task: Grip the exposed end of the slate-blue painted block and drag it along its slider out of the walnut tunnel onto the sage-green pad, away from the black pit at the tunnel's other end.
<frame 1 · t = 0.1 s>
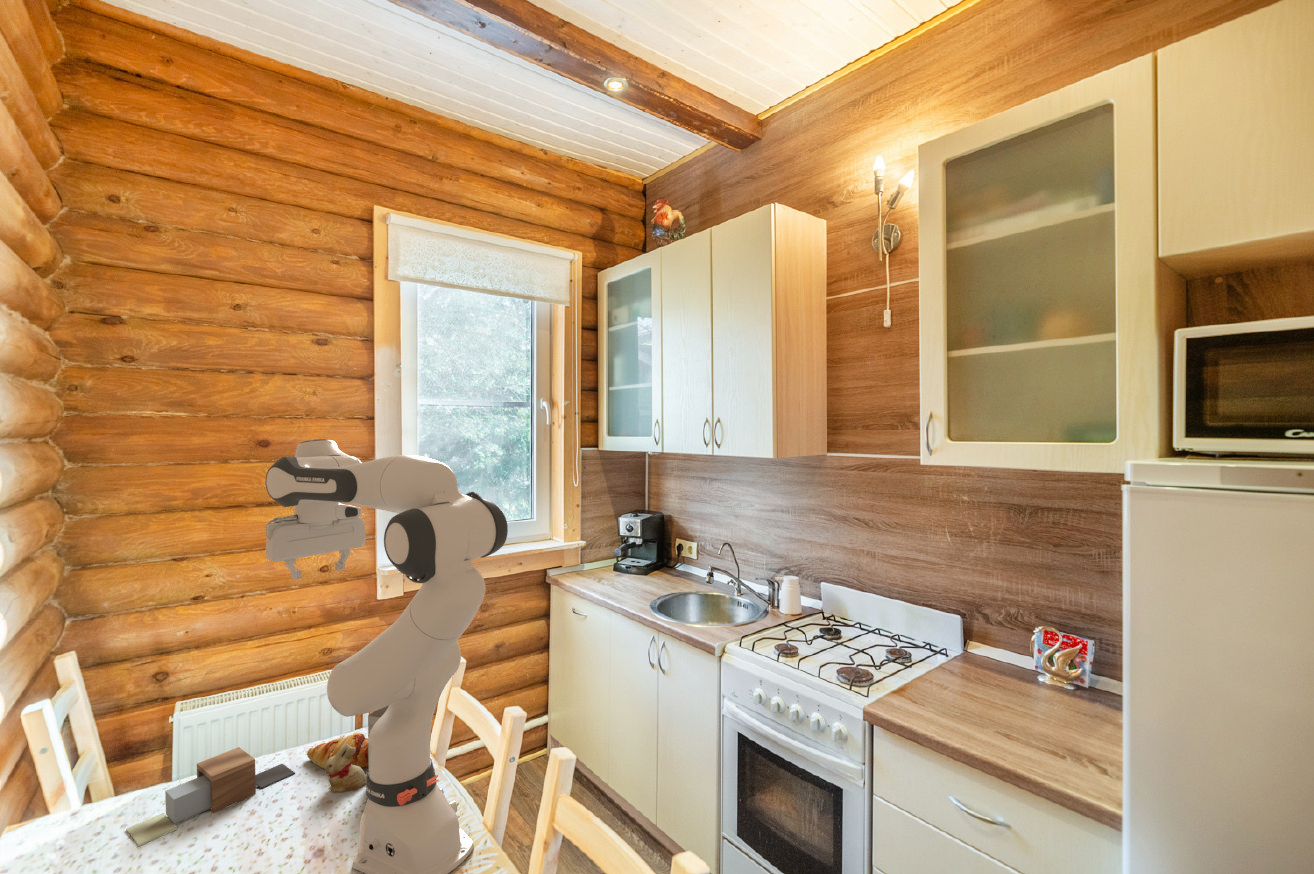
hand: (318, 573, 134), 48 cm above the table, fingers open, 8 cm apart
chocolate bunny: (347, 786, 135), on the table
croissant: (349, 762, 145), on the table
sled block: (196, 795, 126), point 3 cm above the table, slide at 4.5 cm
coffee box: (393, 777, 138), on the table
tunnel: (221, 798, 130), on the table
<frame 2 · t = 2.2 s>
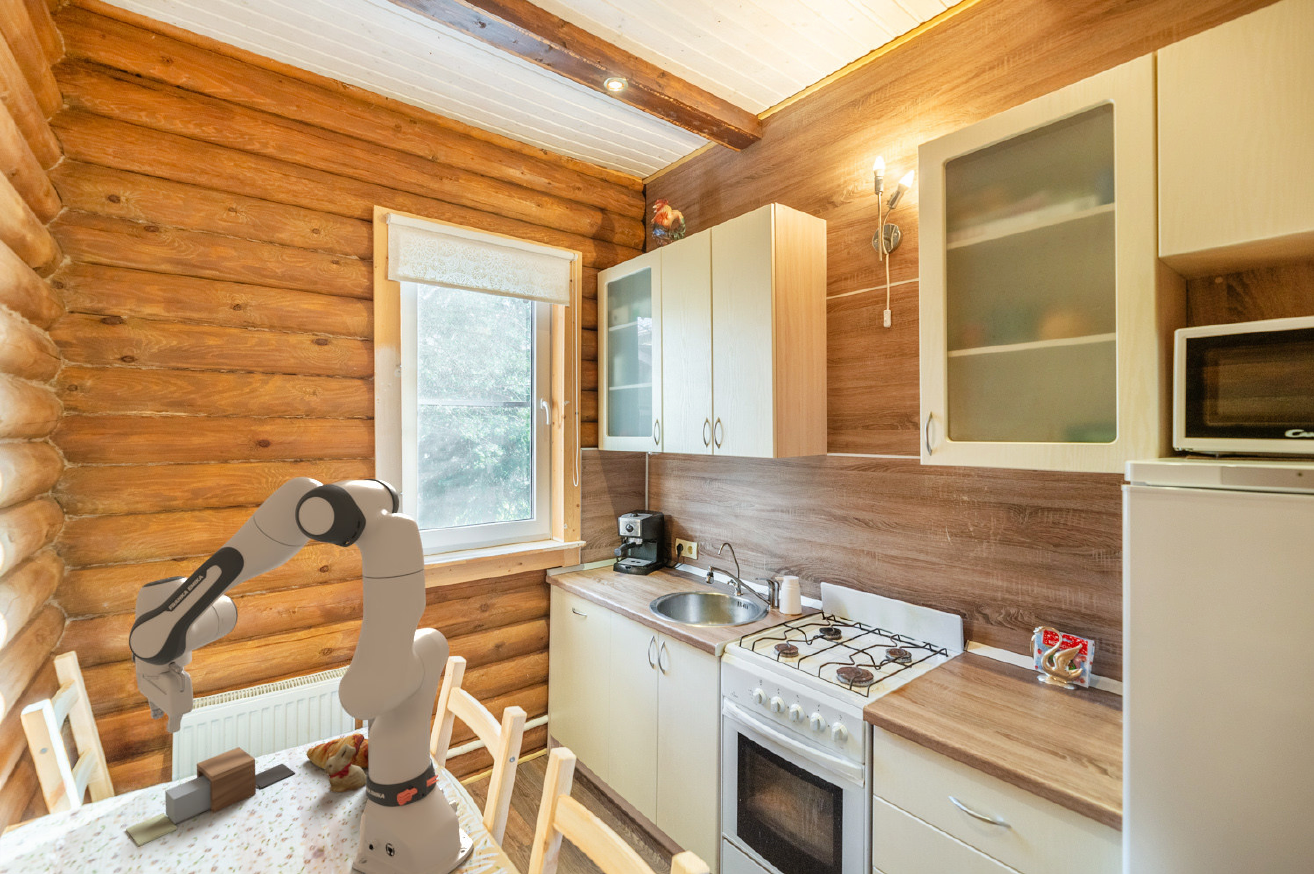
hand: (165, 724, 122), 20 cm above the table, fingers open, 8 cm apart
nothing on the table moved.
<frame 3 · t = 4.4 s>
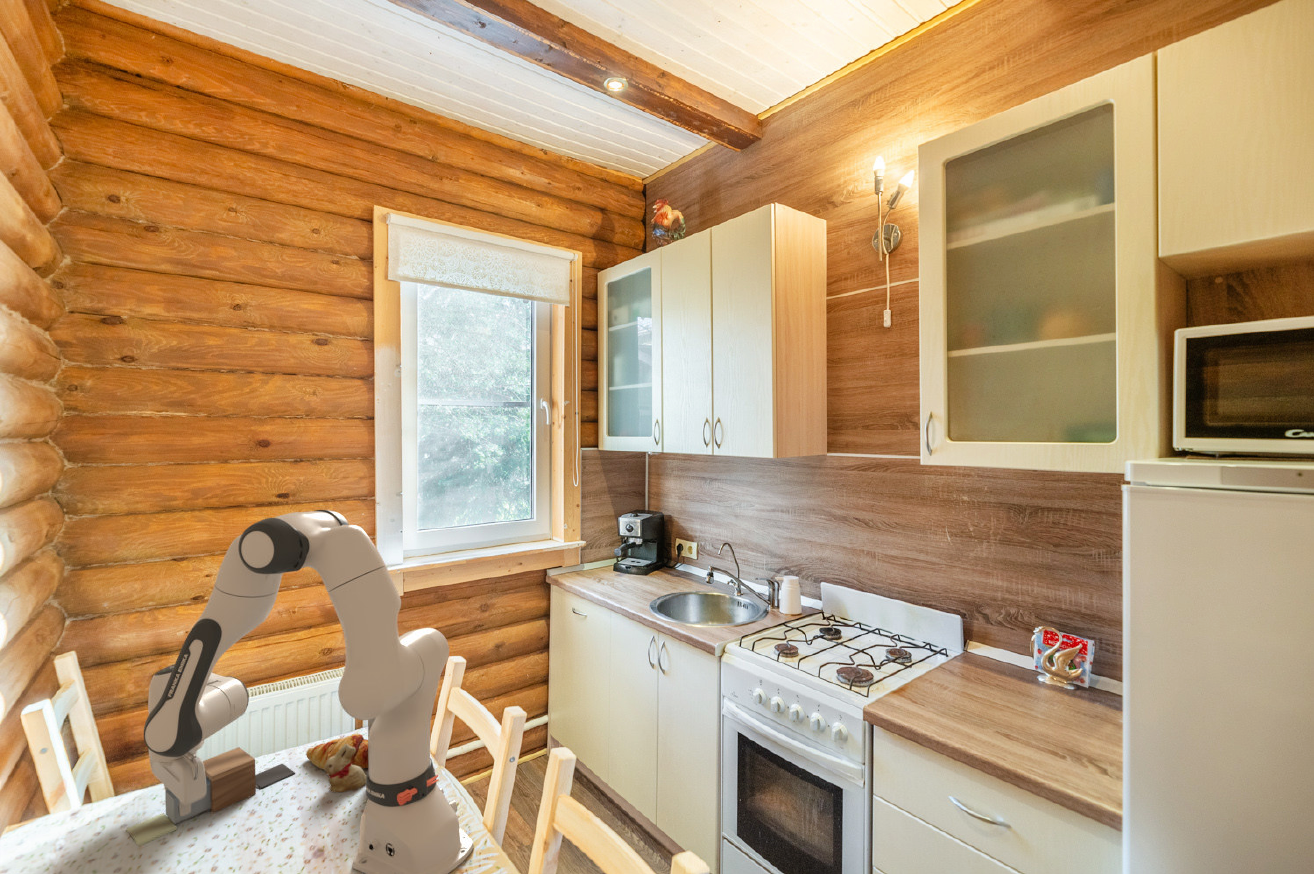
hand: (178, 807, 124), 2 cm above the table, fingers closed on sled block, 5 cm apart
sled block: (196, 795, 126), point 3 cm above the table, slide at 4.5 cm, touching gripper
everything else where it was.
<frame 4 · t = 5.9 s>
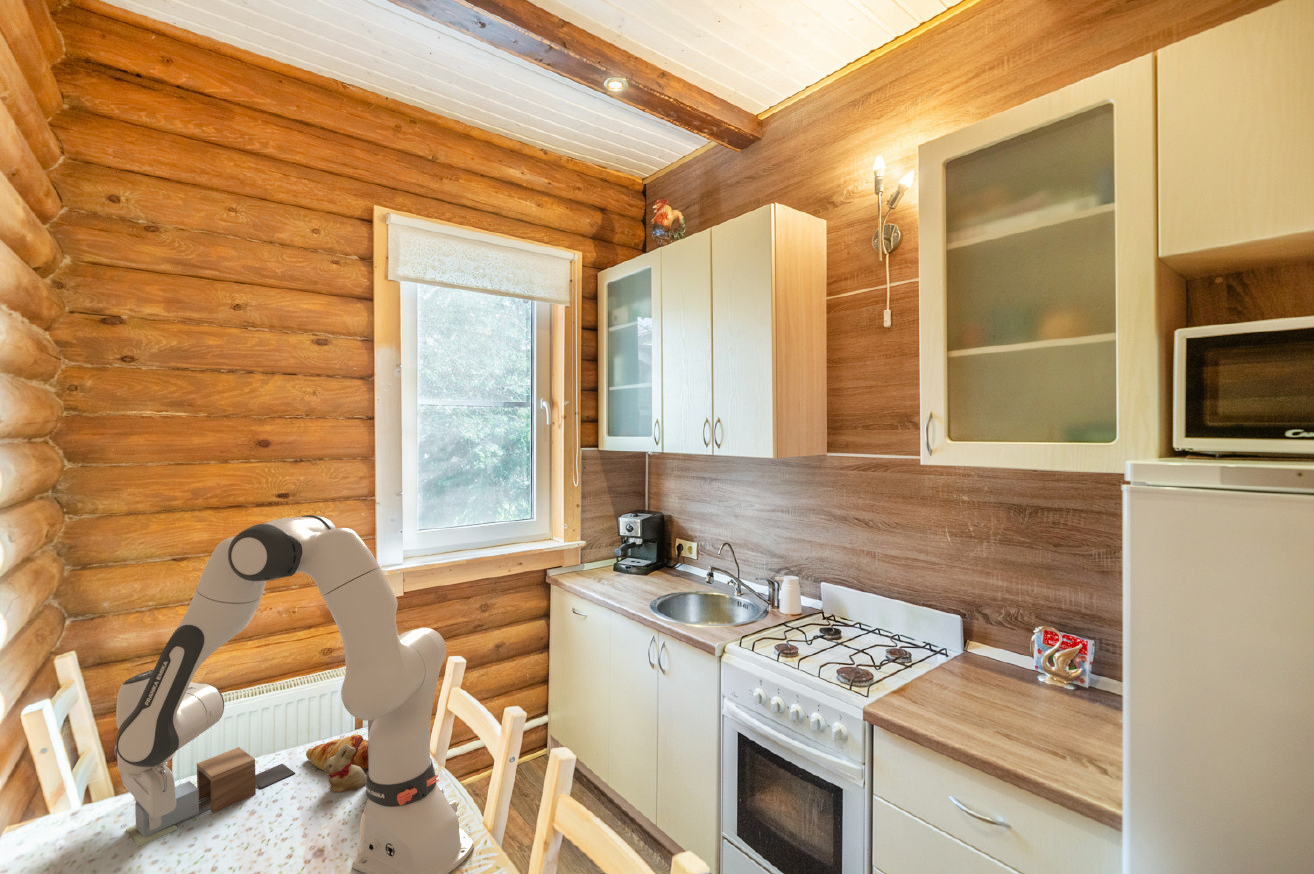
hand: (149, 820, 120), 2 cm above the table, fingers closed on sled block, 5 cm apart
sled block: (167, 807, 122), point 3 cm above the table, slide at 9.4 cm, touching gripper
everything else where it was.
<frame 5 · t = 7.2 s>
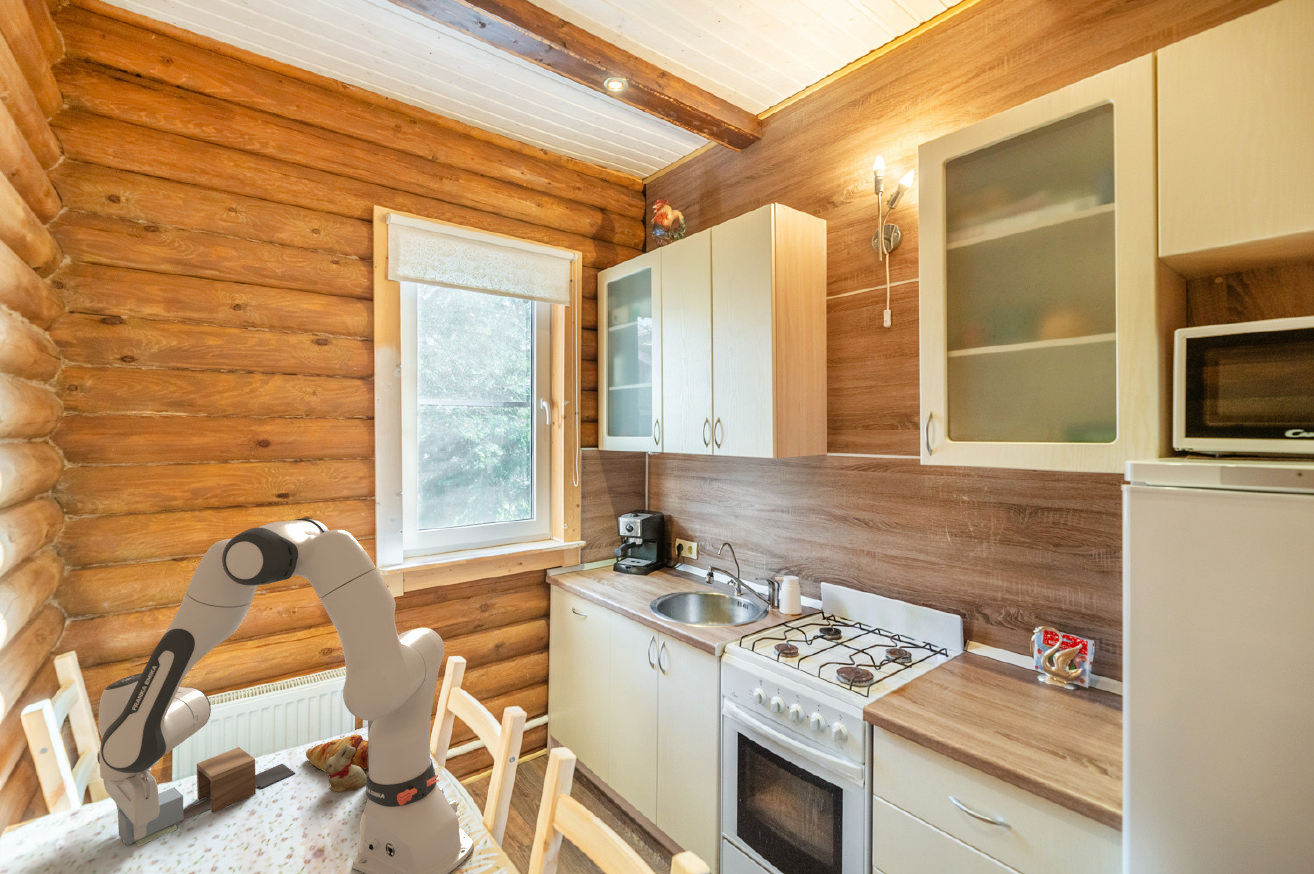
hand: (132, 828, 118), 2 cm above the table, fingers open, 7 cm apart
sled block: (151, 814, 120), point 3 cm above the table, slide at 12.0 cm
everything else where it was.
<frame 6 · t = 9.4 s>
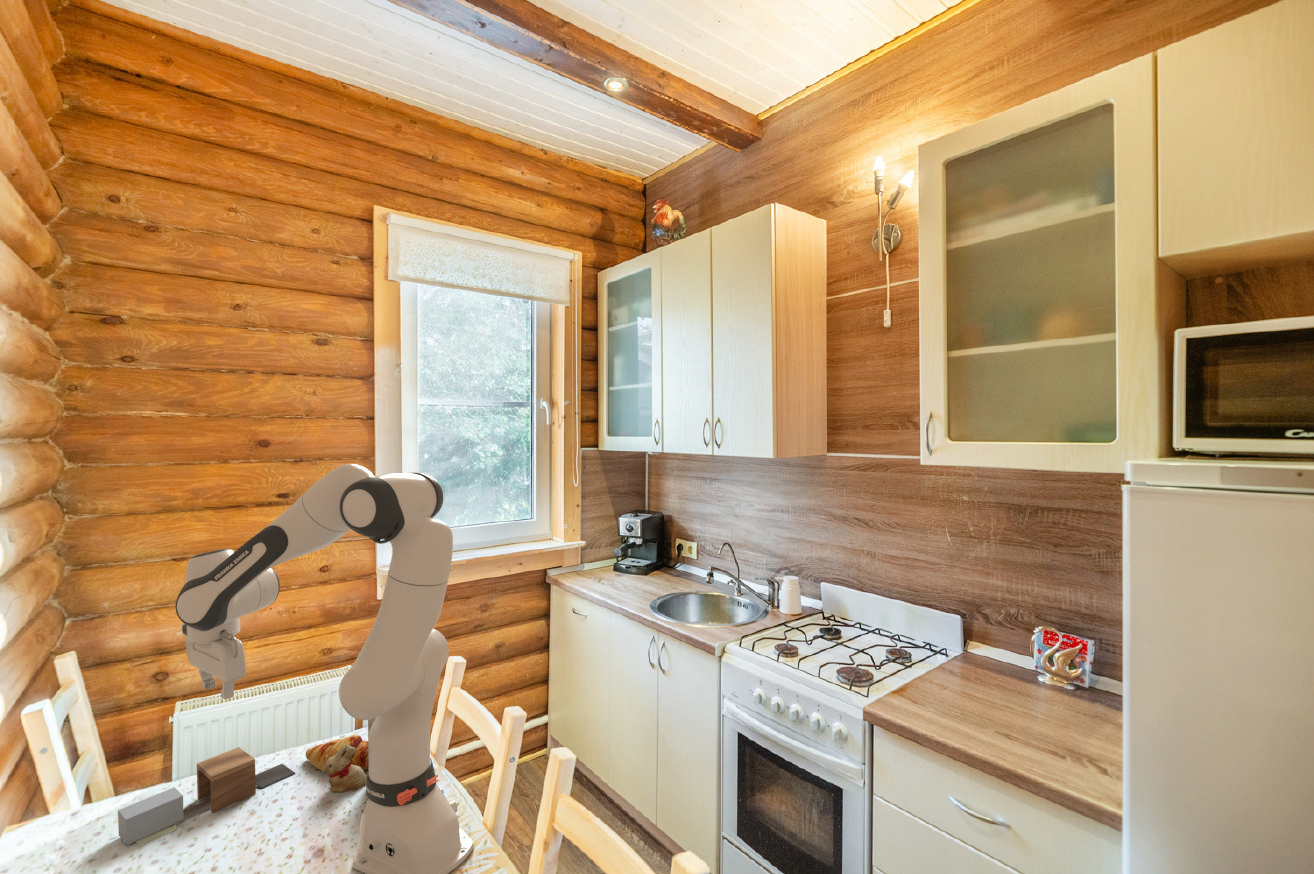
hand: (218, 692, 126), 25 cm above the table, fingers open, 8 cm apart
nothing on the table moved.
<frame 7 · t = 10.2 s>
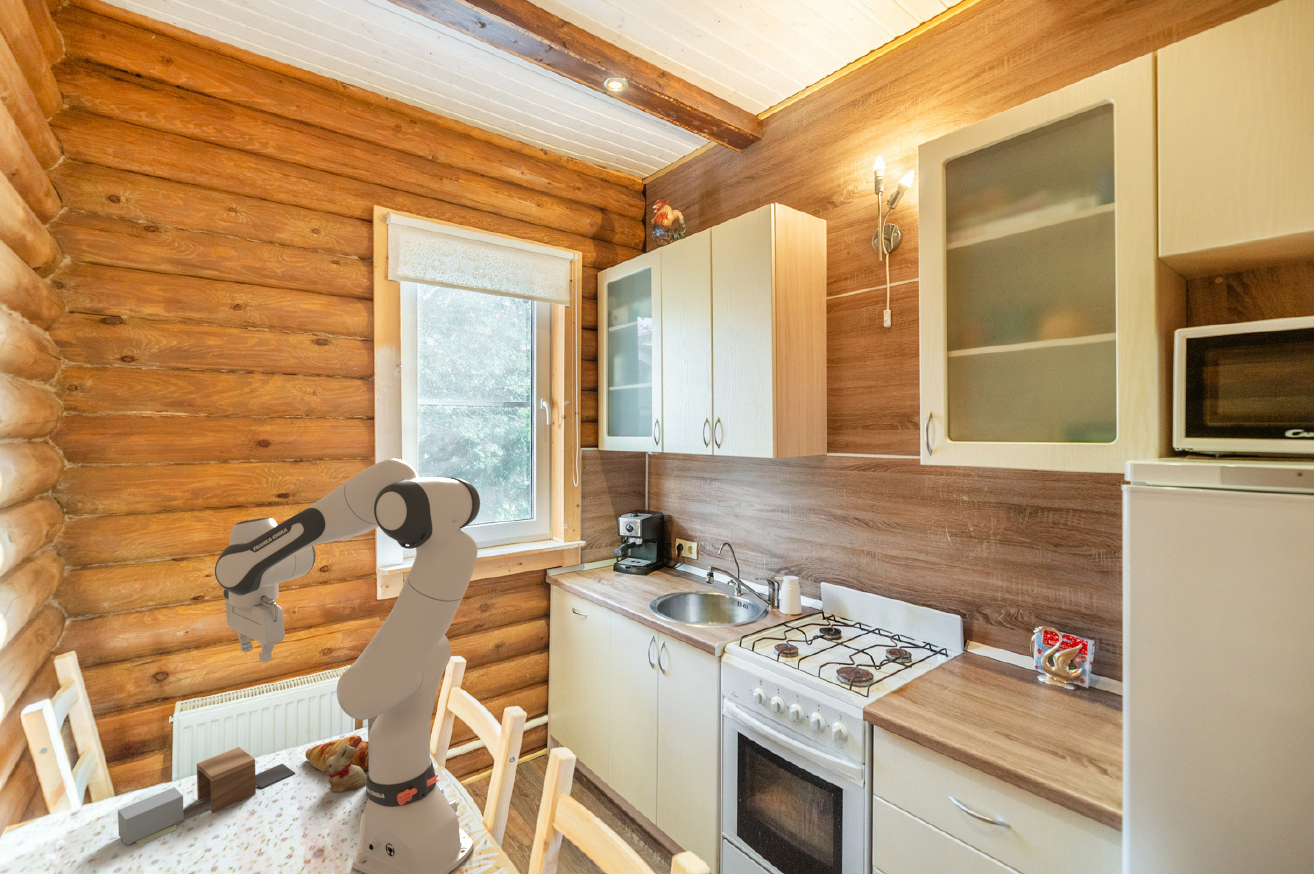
hand: (255, 655, 130), 31 cm above the table, fingers open, 8 cm apart
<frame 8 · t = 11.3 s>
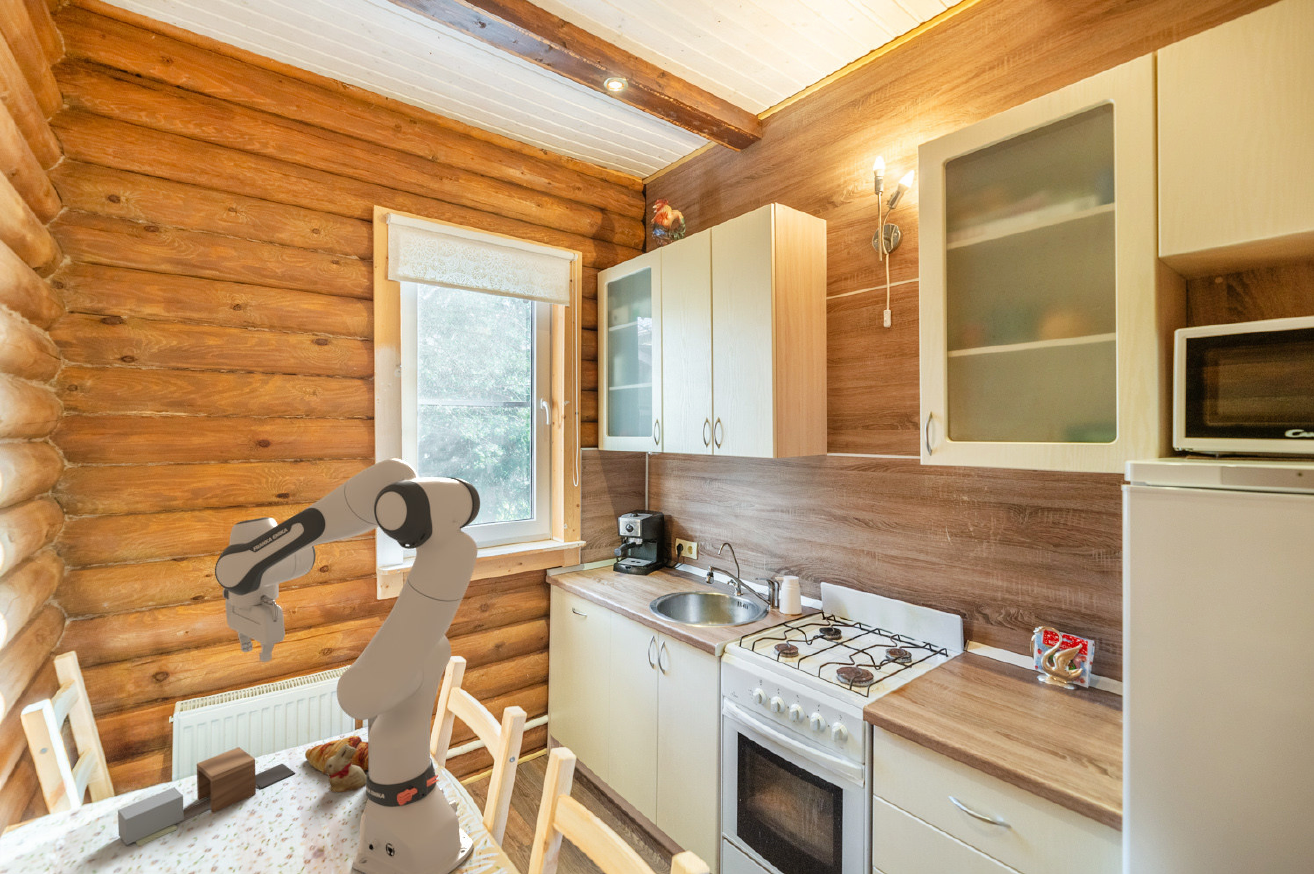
hand: (256, 655, 130), 31 cm above the table, fingers open, 8 cm apart
at the end: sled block slide at 12.0 cm; the gripper is holding nothing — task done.
